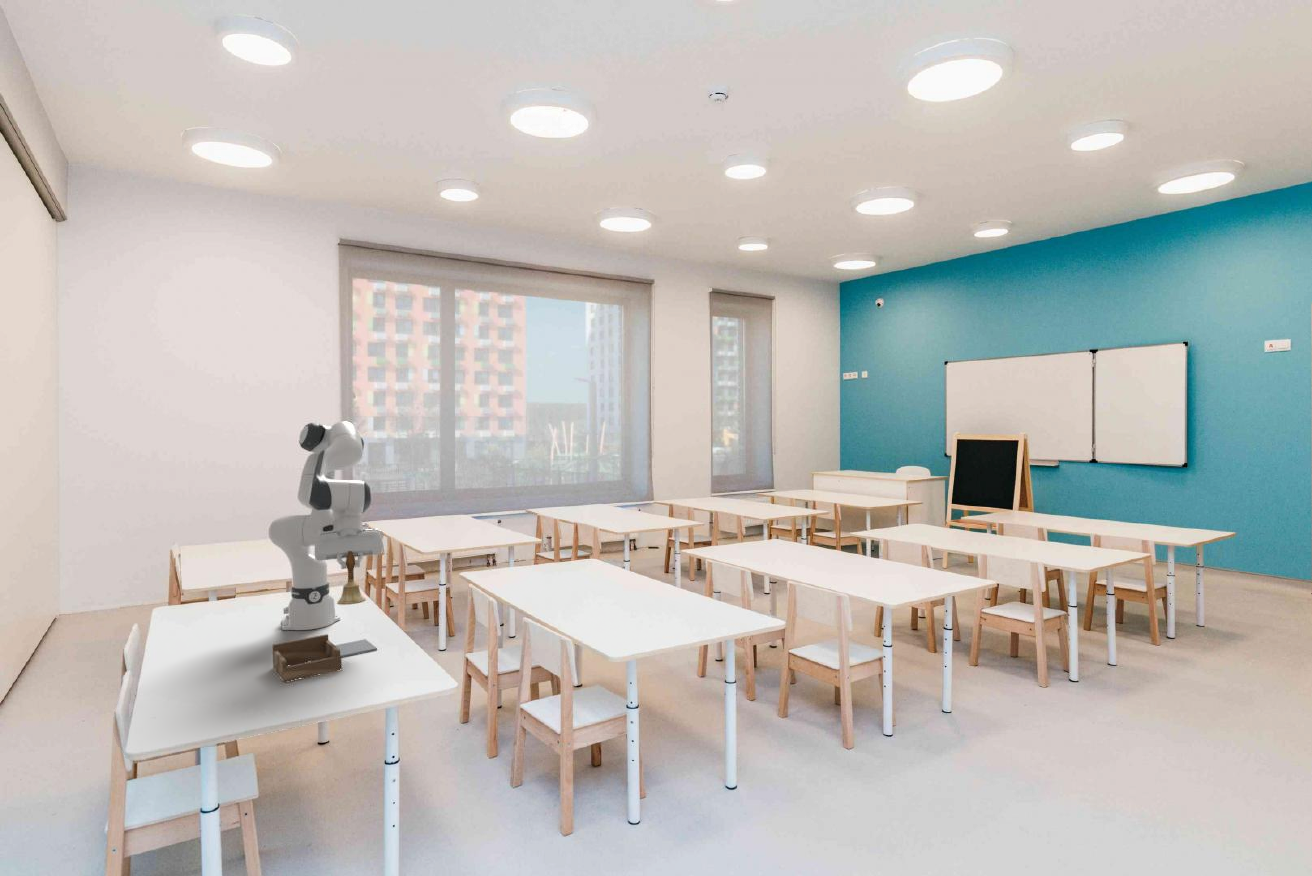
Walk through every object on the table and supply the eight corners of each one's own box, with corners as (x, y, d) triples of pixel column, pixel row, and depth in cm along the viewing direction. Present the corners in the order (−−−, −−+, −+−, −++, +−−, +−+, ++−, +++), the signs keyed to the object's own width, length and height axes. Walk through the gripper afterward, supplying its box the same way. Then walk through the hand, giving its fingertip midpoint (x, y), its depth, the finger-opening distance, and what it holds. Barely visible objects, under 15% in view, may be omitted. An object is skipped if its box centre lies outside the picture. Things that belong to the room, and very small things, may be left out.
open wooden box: (273, 668, 208) (272, 644, 208) (328, 656, 217) (327, 634, 217) (284, 682, 196) (283, 657, 196) (341, 670, 205) (340, 646, 205)
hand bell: (355, 598, 229) (353, 548, 229) (371, 600, 224) (369, 549, 224) (331, 603, 222) (329, 552, 222) (347, 606, 217) (345, 553, 217)
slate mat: (326, 648, 225) (326, 647, 225) (365, 641, 232) (365, 639, 232) (336, 658, 215) (336, 656, 215) (377, 650, 223) (377, 648, 223)
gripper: (382, 534, 238) (385, 568, 229) (314, 540, 229) (315, 576, 221) (382, 522, 233) (386, 557, 225) (313, 528, 225) (314, 565, 216)
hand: (350, 567), depth 223 cm, fingers closed on hand bell, 2 cm apart
